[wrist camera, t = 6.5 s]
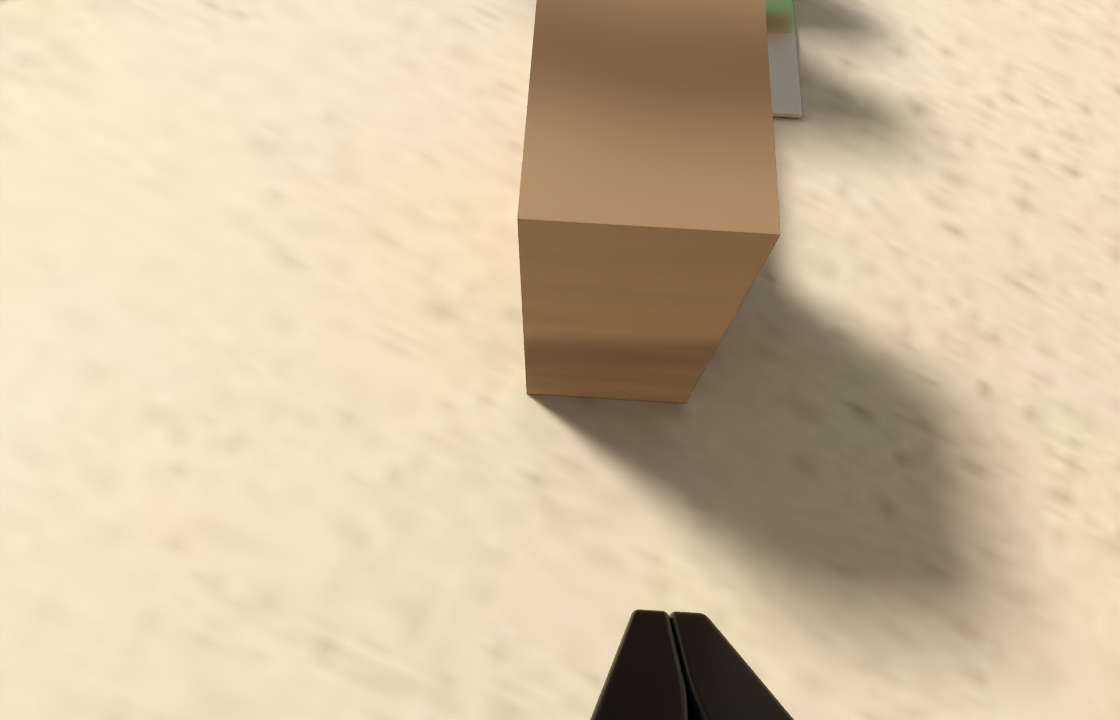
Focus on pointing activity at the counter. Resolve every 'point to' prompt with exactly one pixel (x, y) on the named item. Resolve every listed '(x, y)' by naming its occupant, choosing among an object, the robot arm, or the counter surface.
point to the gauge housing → (783, 59)
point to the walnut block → (642, 191)
